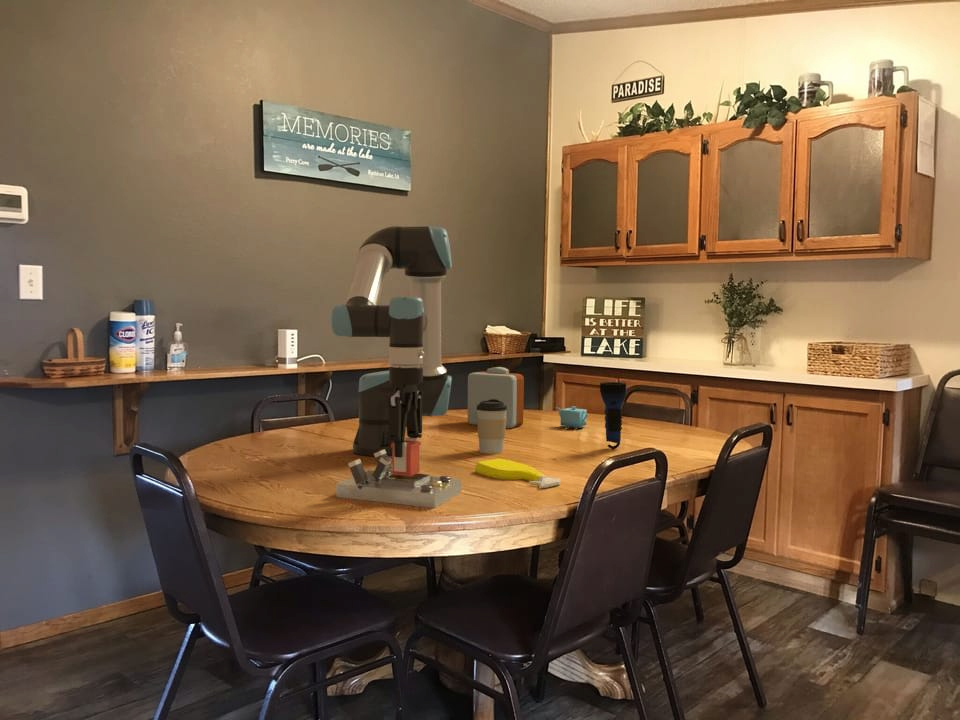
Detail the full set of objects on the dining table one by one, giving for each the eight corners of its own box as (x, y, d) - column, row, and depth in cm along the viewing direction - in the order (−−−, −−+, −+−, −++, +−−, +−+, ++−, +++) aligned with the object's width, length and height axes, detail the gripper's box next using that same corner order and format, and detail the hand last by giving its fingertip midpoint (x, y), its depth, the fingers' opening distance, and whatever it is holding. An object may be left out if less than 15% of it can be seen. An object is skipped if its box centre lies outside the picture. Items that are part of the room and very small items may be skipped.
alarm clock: (524, 426, 276) (524, 368, 274) (511, 429, 268) (512, 369, 267) (479, 421, 285) (480, 365, 284) (466, 424, 278) (467, 366, 276)
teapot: (551, 427, 274) (552, 406, 273) (558, 425, 279) (559, 404, 278) (583, 430, 268) (583, 408, 267) (590, 428, 273) (590, 406, 272)
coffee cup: (503, 455, 223) (504, 403, 222) (473, 453, 225) (473, 402, 224) (509, 449, 232) (509, 399, 231) (479, 447, 234) (479, 398, 233)
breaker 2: (381, 473, 184) (373, 453, 184) (386, 471, 186) (378, 451, 186) (388, 470, 183) (380, 450, 184) (392, 468, 185) (384, 449, 186)
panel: (336, 497, 174) (336, 478, 174) (368, 482, 188) (368, 465, 188) (434, 508, 166) (434, 488, 166) (461, 492, 180) (461, 474, 180)
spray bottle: (502, 468, 208) (569, 487, 189) (470, 473, 201) (537, 493, 182) (502, 457, 208) (570, 475, 189) (471, 462, 201) (537, 481, 182)
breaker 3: (371, 475, 178) (381, 457, 177) (376, 473, 180) (386, 455, 179) (378, 479, 177) (387, 461, 176) (383, 477, 180) (392, 459, 178)
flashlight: (593, 447, 236) (594, 381, 235) (614, 445, 240) (615, 380, 238) (609, 452, 229) (610, 384, 227) (630, 450, 233) (632, 383, 231)
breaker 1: (356, 484, 173) (347, 463, 173) (361, 482, 175) (353, 461, 175) (362, 481, 172) (354, 460, 172) (368, 479, 174) (359, 458, 175)
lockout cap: (411, 476, 173) (411, 445, 172) (390, 474, 175) (390, 443, 174) (420, 472, 178) (420, 441, 177) (401, 470, 179) (401, 440, 179)
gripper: (403, 369, 165) (403, 478, 166) (437, 363, 181) (437, 462, 183) (371, 368, 167) (371, 475, 169) (408, 362, 184) (408, 460, 186)
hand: (405, 468), depth 176 cm, fingers closed on lockout cap, 5 cm apart
